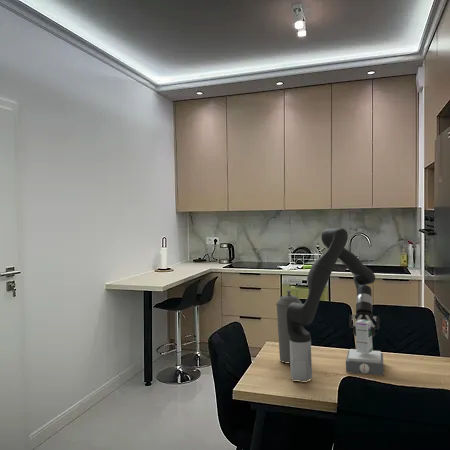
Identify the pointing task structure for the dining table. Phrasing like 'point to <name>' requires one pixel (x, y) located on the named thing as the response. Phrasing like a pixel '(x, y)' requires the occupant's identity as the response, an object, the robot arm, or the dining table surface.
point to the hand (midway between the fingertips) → (363, 335)
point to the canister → (284, 325)
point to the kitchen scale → (365, 362)
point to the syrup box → (364, 336)
